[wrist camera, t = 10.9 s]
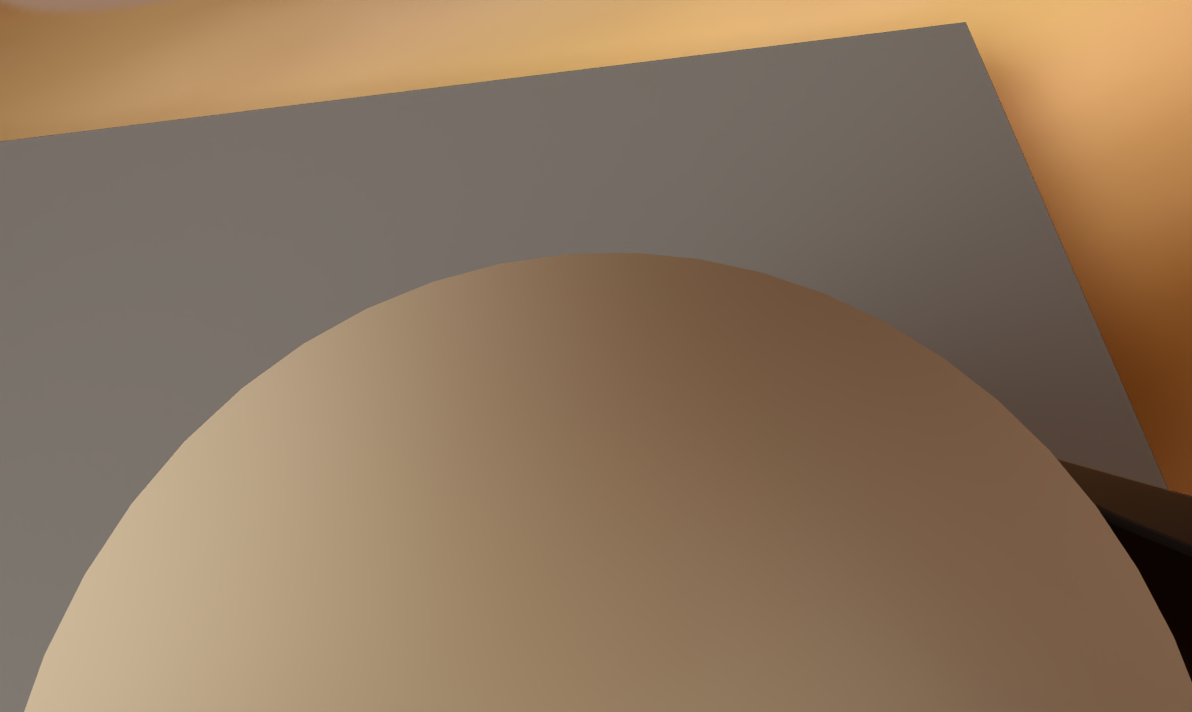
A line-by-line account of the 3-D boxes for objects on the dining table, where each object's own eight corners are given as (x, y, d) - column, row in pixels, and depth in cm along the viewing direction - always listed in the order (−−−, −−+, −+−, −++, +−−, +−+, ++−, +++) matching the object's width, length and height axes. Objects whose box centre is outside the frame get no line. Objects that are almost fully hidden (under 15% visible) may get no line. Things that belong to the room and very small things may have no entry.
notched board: (1228, 902, 16) (1356, 924, 14) (-334, 1431, 12) (-519, 1587, 10) (909, 102, 21) (965, 22, 19) (-286, 269, 17) (-400, 191, 15)
